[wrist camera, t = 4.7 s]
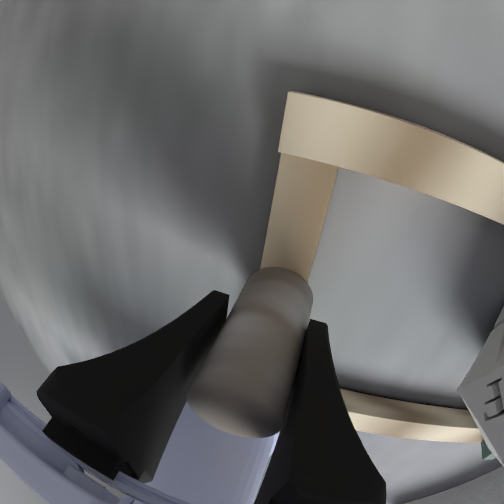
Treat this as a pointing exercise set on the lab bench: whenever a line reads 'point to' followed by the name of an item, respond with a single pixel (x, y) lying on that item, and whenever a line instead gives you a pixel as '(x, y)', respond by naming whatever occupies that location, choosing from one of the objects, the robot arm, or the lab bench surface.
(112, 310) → the lab bench surface
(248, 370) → the tan frame
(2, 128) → the lab bench surface
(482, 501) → the long grey block
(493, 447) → the die
